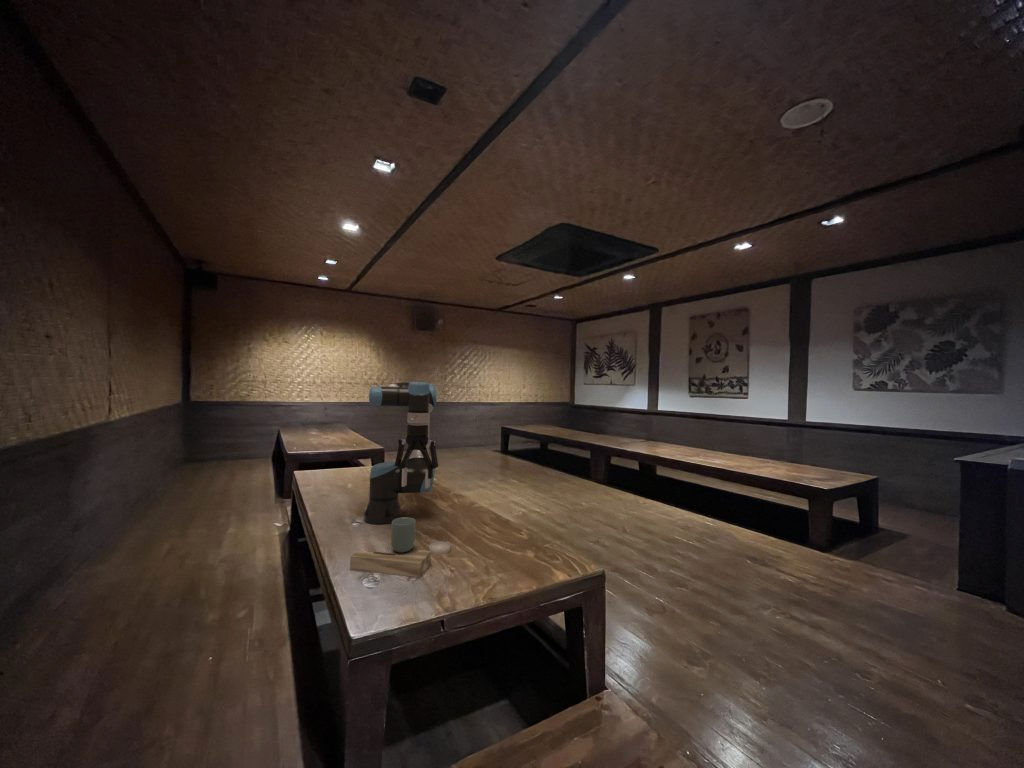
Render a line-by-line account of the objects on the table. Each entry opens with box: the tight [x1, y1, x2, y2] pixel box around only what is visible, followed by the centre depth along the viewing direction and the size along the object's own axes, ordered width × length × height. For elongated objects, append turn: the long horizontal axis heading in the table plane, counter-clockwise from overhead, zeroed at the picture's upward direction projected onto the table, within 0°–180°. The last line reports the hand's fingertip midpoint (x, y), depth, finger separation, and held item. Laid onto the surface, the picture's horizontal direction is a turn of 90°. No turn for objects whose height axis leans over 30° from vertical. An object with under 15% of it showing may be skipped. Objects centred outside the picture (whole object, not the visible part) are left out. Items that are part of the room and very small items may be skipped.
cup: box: [390, 516, 417, 553], centre depth 134 cm, size 8×8×10 cm
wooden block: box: [349, 549, 432, 578], centre depth 121 cm, size 9×22×4 cm, turn 81°
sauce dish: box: [428, 540, 451, 555], centre depth 135 cm, size 7×7×2 cm
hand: (415, 486), depth 143 cm, fingers open, 8 cm apart
